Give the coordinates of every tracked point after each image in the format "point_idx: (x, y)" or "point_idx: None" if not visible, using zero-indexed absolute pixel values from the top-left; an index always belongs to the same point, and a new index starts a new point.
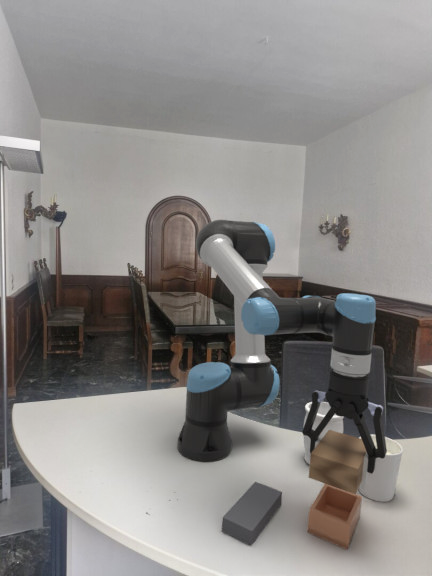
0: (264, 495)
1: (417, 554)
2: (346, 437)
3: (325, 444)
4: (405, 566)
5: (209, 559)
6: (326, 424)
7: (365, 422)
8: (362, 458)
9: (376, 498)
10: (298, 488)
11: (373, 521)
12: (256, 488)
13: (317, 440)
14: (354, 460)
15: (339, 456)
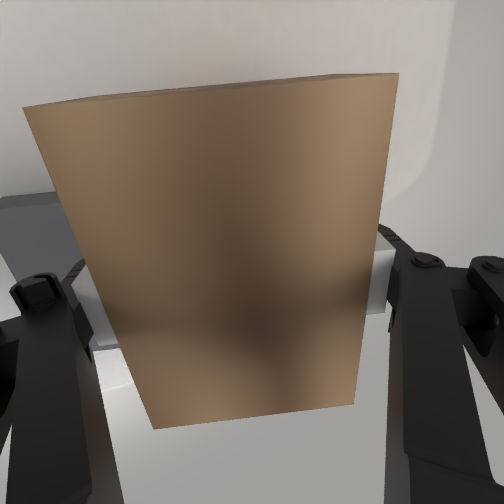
0: (51, 247)
1: (415, 132)
2: (209, 154)
3: (153, 333)
4: (387, 188)
5: (110, 377)
6: (114, 470)
7: (484, 454)
8: (359, 330)
9: None
10: (60, 70)
11: (309, 73)
12: (11, 236)
13: (92, 323)
14: (329, 368)
15: (261, 380)
